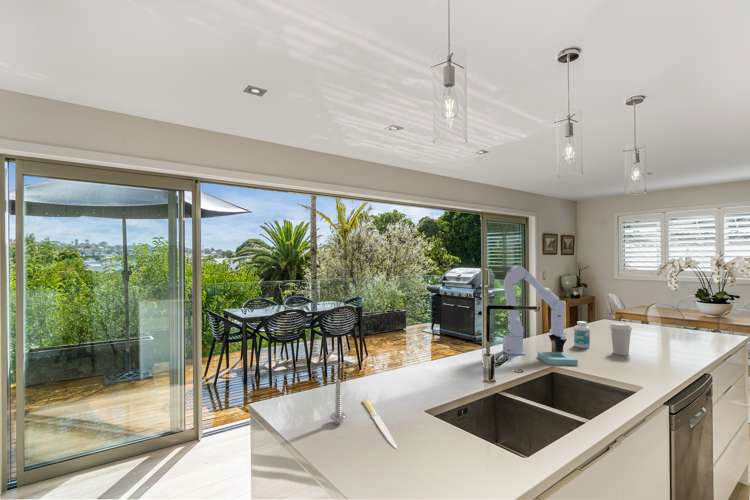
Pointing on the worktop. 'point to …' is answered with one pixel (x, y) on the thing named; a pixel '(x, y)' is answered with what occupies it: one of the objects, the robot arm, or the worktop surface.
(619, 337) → the coffee cup
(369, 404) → the knife
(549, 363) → the socket plate
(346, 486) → the worktop surface
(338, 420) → the screw
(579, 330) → the pill bottle
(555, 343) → the walnut peg
